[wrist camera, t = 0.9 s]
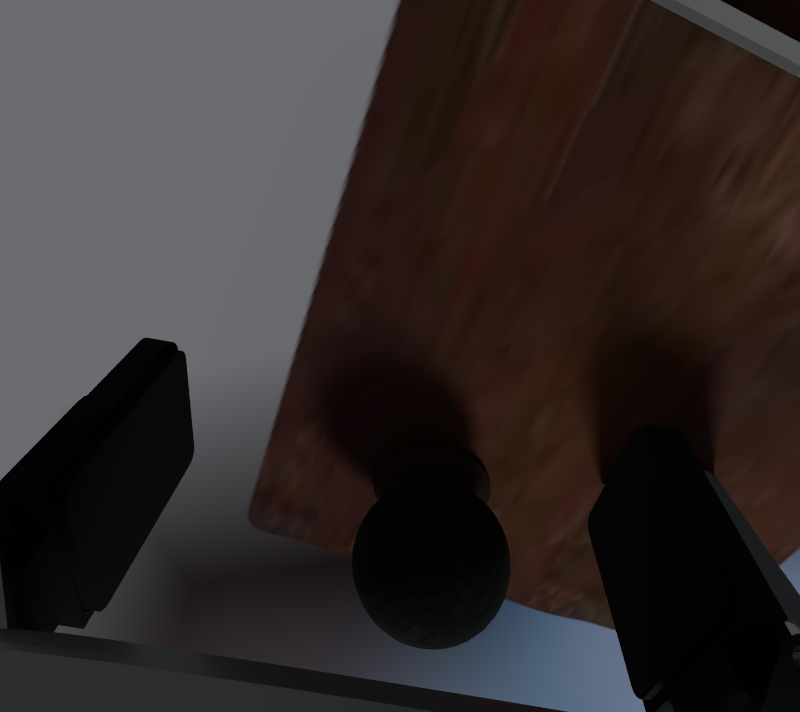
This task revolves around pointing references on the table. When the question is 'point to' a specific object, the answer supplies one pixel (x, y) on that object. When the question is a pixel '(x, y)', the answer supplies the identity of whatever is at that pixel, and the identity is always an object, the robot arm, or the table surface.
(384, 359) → the table surface
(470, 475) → the dark rounded object
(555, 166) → the table surface
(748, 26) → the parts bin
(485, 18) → the table surface
